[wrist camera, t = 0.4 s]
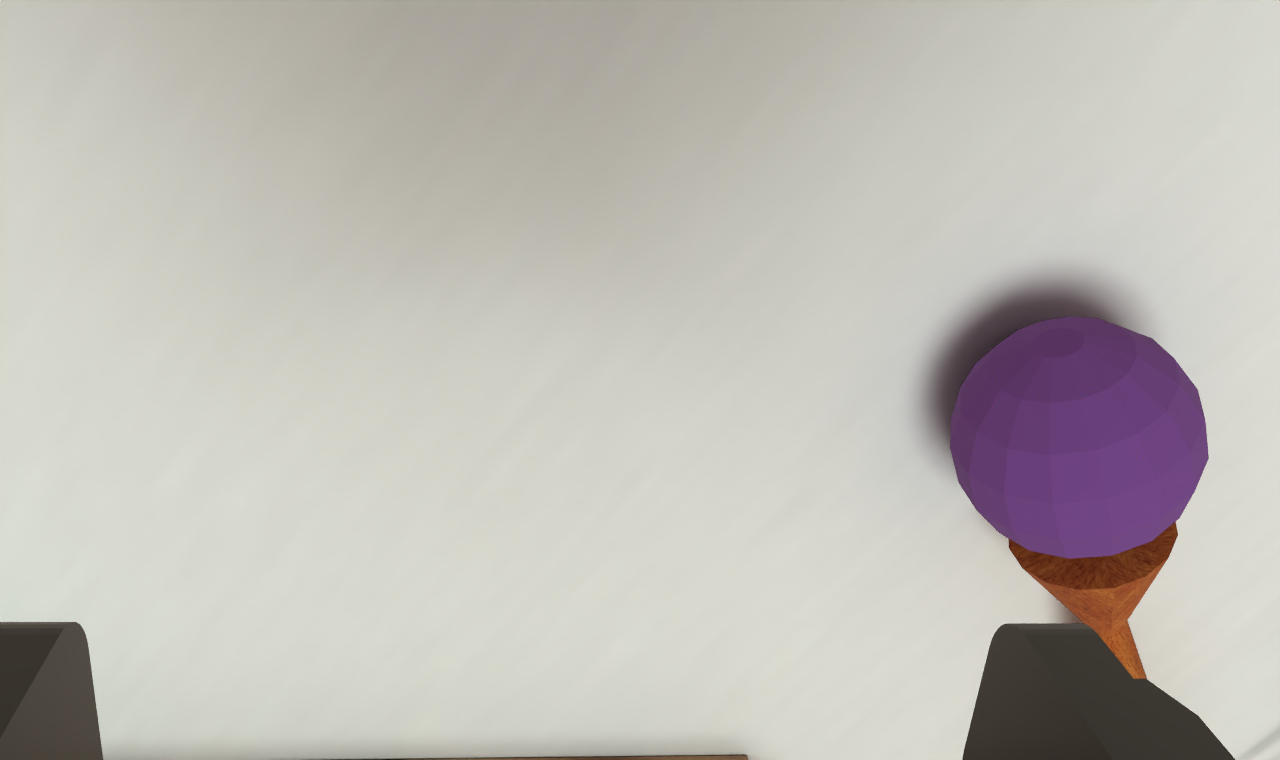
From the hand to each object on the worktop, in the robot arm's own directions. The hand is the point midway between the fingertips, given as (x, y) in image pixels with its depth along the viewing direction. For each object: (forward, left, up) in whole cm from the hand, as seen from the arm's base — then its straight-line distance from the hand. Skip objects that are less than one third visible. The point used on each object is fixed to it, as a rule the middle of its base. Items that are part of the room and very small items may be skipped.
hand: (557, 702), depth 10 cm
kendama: (+12, +17, -19) cm, 28 cm away
